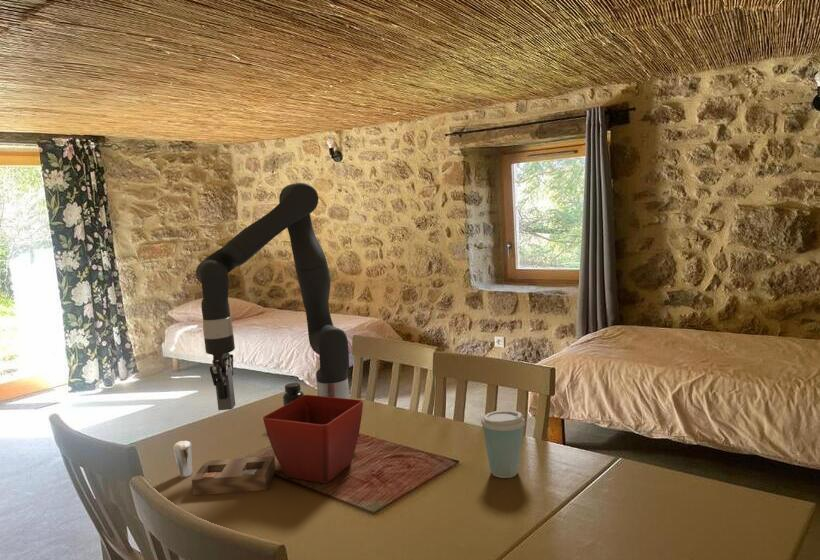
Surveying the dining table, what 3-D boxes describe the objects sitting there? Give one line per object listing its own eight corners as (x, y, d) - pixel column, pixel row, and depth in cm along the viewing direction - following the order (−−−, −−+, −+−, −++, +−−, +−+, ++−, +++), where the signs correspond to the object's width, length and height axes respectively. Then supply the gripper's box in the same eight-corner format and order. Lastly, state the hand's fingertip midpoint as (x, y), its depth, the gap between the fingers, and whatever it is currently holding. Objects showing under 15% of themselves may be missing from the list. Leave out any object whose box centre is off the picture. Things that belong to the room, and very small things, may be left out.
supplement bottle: (286, 418, 200) (282, 382, 199) (307, 415, 201) (303, 380, 199) (284, 425, 193) (280, 389, 192) (305, 423, 194) (302, 386, 193)
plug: (235, 404, 167) (230, 363, 165) (231, 409, 163) (226, 366, 162) (222, 405, 167) (217, 364, 165) (218, 410, 163) (213, 367, 162)
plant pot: (369, 459, 163) (364, 399, 161) (331, 492, 146) (325, 425, 144) (310, 451, 171) (304, 394, 169) (267, 481, 154) (260, 418, 152)
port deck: (275, 470, 160) (274, 454, 160) (266, 489, 150) (264, 473, 149) (207, 475, 160) (205, 459, 160) (193, 495, 149) (191, 478, 149)
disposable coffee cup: (474, 475, 150) (471, 416, 148) (499, 459, 157) (496, 403, 155) (511, 486, 142) (508, 425, 140) (535, 469, 150) (533, 411, 148)
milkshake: (191, 479, 159) (187, 442, 157) (173, 478, 160) (168, 442, 159) (200, 471, 163) (196, 435, 162) (182, 470, 164) (178, 435, 163)
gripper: (225, 339, 155) (232, 404, 158) (239, 327, 169) (246, 387, 172) (195, 341, 155) (203, 406, 158) (212, 329, 169) (219, 389, 172)
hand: (225, 396), depth 165 cm, fingers closed on plug, 3 cm apart
